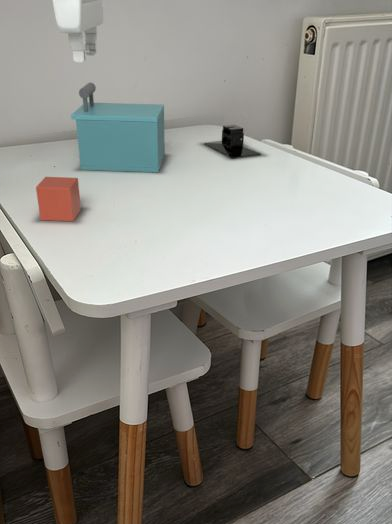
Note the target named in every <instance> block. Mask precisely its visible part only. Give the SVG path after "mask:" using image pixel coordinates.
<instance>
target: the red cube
mask: <svg viewBox="0 0 392 524" xmlns="http://www.w3.org/2000/svg"><path fill="white" fill-rule="evenodd" d="M35 191H36V198H37V205H38V212H39V218H40V219H39V220H40V221H57V222H74V221H75V220H76V219H77V217H78V215H79V214H80V212H81V211H82V206H81V205H82V204H81V195H80V185H79V178H78V177H68V176H67V177H63V176H62V177H61V176H45V177H44V178H43V179H42V180H41V181H40V182H39V183H38V184H37V185H36V186H35Z"/></svg>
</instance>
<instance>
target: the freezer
mask: <svg viewBox="0 0 392 524" xmlns="http://www.w3.org/2000/svg"><path fill="white" fill-rule="evenodd" d="M75 124H76V134H77V144H78V157H79V164H80V170H81V171H106V172H107V171H108V172H110V171H111V172H133V173H134V172H138V173H139V172H141V173H159V171H160V169H161V167H162V163H163V161H164V158H165V156H166V153H165V150H166V147H165V144H166V143H165V109H164V110H163V112H162V114H161V116H160V118H159V120H158V122H134V121H101V120H75Z"/></svg>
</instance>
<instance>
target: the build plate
mask: <svg viewBox="0 0 392 524" xmlns="http://www.w3.org/2000/svg"><path fill="white" fill-rule="evenodd" d="M244 138H245V133H244V127H241V126H239V125H237V124H227V125H223V126H222V130H221V140H217V141H209V142H204V146H207V147H209V148H210V149H212V150H214V151H216V152H218V153H220V154H221V155H223V156H225V157H227V158H229V159H231V160H232V159H233V160H234V159H243V158H250V157H259V156H262V153H261V152H259V151H257V150H255V149H253V148H251V147H249V146H247V145H244V142H245V141H244Z"/></svg>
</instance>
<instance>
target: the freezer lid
mask: <svg viewBox="0 0 392 524" xmlns="http://www.w3.org/2000/svg"><path fill="white" fill-rule="evenodd" d="M96 88H97V87H96V85H95V83H93V82H87V83H86V84H85V85H84V86H82V87H81V88H80V89H79V90H78V96H79V97H80V98H81V99H82V105H80V106H79V107H78V108H77V109H76V110H75V111H74V112H73V113H72V114H71V115H70V118H71V120H73V121H76V120H101V121H134V122H158V120H159V118H160V116H161V114H162V112H163V110H164V111H165V104H158V103H157V104H154V103H153V104H151V103H118V102H94V93H95V92H96V90H97V89H96ZM88 101H89V102H88Z"/></svg>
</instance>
